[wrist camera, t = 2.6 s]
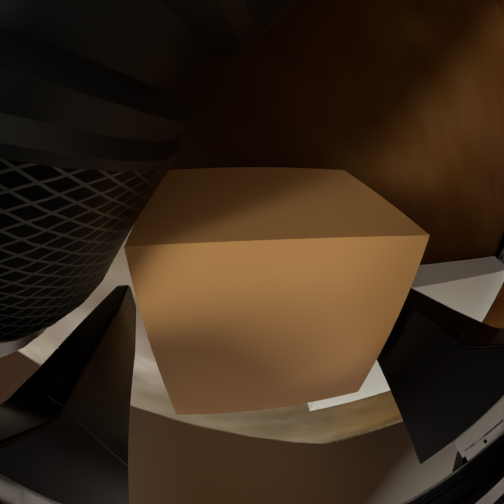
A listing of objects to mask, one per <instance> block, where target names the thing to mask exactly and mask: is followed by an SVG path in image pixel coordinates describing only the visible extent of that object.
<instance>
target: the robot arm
mask: <svg viewBox="0 0 504 504" xmlns="http://www.w3.org/2000/svg"><path fill="white" fill-rule="evenodd" d="M496 258H497V259H498V260H500V261H501V262H504V236H503V239H502V242H501V244H500V247H499V249H498V252H497V254H496ZM135 332H136V306H135V302H134V298H133V295H132V291H131V288H130V286H128V285H123V286H117V287H116V288H115V289H114V290H113V291H112V292H111V293H110V294H109V295H108V296H107V297H106V298H105V299H104V300H103V301H102V302H101V303H100V304H99V305H98V306H97V307H96V308H95V309H94V310H93V311H92V312H91V313H90V314H89V315H88V316H87V317H86V318H85V319H84V320H83V321H82V322H81V323H80V324H79V325H78V326H77V328H76V329H75V330H74V331H73V332H72V333H71V334H70V335H69V336H68V337H67V338H66V339H65V340H64V341H63V343H62V344H61V345H60V346H59V347H58V349H56V350H55V351H54V352H53V354H52V355H51V356H50V357H49V358H48V359H47V360H46V361H45V362H44V363H43V364H42V365H41V366H40V367H39V368H38V369H37V371H35V372H34V373H33V375H31V377H29V378H28V379H27V380H26V381H25V382H24V383H23V384H22V385H21V386H20V387H19V388H18V389H17V390H16V391H15V392H14V393H13V394H12V395H11V396H10V397H9V398H8V399H7V400H6V401H4V402H3V403H1V404H0V504H129V488H128V487H129V486H128V437H129V414H130V400H131V387H132V376H133V367H134V358H135ZM377 361H378V364H379V366H380V368H381V370H382V372H383V375H384V377H385V379H386V381H387V383H388V386H389V388H390V390H391V393H392V395H393V397H394V399H395V402H396V404H397V406H398V409H399V411H400V414H401V416H402V419H403V421H404V423H405V426H406V429H407V431H408V434H409V436H410V439H411V441H412V444H413V446H414V449H415V451H416V454H417V457H418V460H419V462H420V463H421V464H422V463H424V462H426V461H427V460H429V459H431V458H432V457H434V456H436V455H437V454H439V453H440V452H442V451H443V450H445V449H447V448H448V447H449V446H451V445H453V444H454V443H455V445H456V446H457V448H458V450H459V451H458V452H457V455H456V459H455V463H454V468H453V471H452V473H451V474H450V475H448V476H447V477H445V478H444V479H442V480H441V481H439V482H438V483H436V484H435V485H433V486H431V487H430V488H428V489H427V490H425V491H423V492H422V493H420V494H418V495H417V496H415V497H413V498H411V499H410V500H408V501H406V502H404V503H402V504H504V328H494V327H491V326H489V325H486V324H484V323H482V322H480V321H478V320H475V319H473V318H471V317H469V316H467V315H464V314H462V313H460V312H458V311H456V310H454V309H452V308H450V307H448V306H446V305H444V304H442V303H440V302H438V301H437V302H436V300H434V299H432V298H430V297H428V296H426V295H424V294H422V293H420V292H418V291H417V290H415V289H413V288H410V290H409V293H408V295H407V298H406V300H405V302H404V305H403V307H402V309H401V311H400V313H399V316H398V318H397V320H396V322H395V324H394V326H393V328H392V331H391V333H390V335H389V337H388V339H387V341H386V343H385V345H384V347H383V348H382V350H381V352H380V354H379V356H378V358H377Z"/></svg>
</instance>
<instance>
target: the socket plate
mask: <svg viewBox="0 0 504 504" xmlns="http://www.w3.org/2000/svg"><path fill="white" fill-rule="evenodd" d="M503 282H504V264H503V263H502V262H501V261H500V260H498V259H497V258H496V256H492V257H484V258H477V259H469V260H460V261H452V262H443V263H435V264H426V265H419V268H418V270H417V273H416V275H415V278H414V280H413V283H412V285H411V288H413V289H415V290H417V291H418V292H420V293H422V294H424V295H426V296H428V297H430V298H432V299H434V300H436V302H437V301H438V302H440V303H442V304H444V305H446V306H448V307H450V308H452V309H454V310H456V311H458V312H460V313H462V314H464V315H467V316H469V317H471V318H473V319H475V320H478V321H480V322H482V321H483V319H484V317H485V316H486V314H487V312H488V311H489V309H490V307H491V305H492V303H493V302H494V300H495V298H496V296H497V294H498V292H499V290H500V288H501V286H502V284H503ZM389 390H390V388H389V386H388V383H387V381H386V379H385V377H384V375H383V372H382V370H381V368H380V366H379V364H378V361H377V360H376V362H375V363H374V365H373V367H372V369H371V371H370V372H369V374H368V376H367V378H366V379H365V381H364V383H363V384H362V386H361V388H360V389H359V391H358V392H355V393H351V394H347V395H343V396H338V397H334V398H329V399H324V400H319V401H314V402H309V403H308V406H309V409H310V411H312V410H317V409H322V408H326V407H331V406H335V405H339V404H343V403H347V402H351V401H355V400H359V399H362V398H366V397H369V396H373V395H376V394H379V393H383V392H386V391H389Z"/></svg>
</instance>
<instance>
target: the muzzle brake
mask: <svg viewBox="0 0 504 504" xmlns="http://www.w3.org/2000/svg"><path fill="white" fill-rule="evenodd" d="M297 1H298V0H0V358H1V357H3V356H6V355H8V354H10V353H12V352H15V351H17V350H19V349H21V348H23V347H25V346H26V345H27V344H29V343H30V342H31V341H33V340H34V339H35V338H37V337H38V336H39V335H41V334H42V333H43V332H44V331H45V330H46V329H47V327H50V326H52V325H53V324H55V323H56V322H58V321H59V320H60V319H62V318H63V317H65V316H66V315H67V314H69V313H70V312H72V311H73V310H74V309H76V308H77V307H79V306H80V305H81V304H82V303H84V301H85V300H86V299H87V298H88V297H89V296H90V294H91V293H92V292H93V291H94V290H95V289H96V288H97V286H98V285H99V284H100V283H101V282H102V281H103V279H104V277H105V275H106V273H107V271H108V269H109V267H110V265H111V264H112V262H113V260H114V258H115V256H116V254H117V253H118V251H119V249H120V247H121V246H122V244H123V242H124V240H125V239H126V237H127V235H128V233H129V232H130V230H131V228H132V227H133V225H134V223H135V222H136V220H137V218H138V217H139V215H140V213H141V212H142V210H143V209H144V207H145V205H146V204H147V202H148V201H149V199H150V198H151V196H152V195H153V193H154V192H155V190H156V188H157V187H158V185H159V184H160V182H161V181H162V179H163V178H164V177H165V175H166V174H167V172H168V171H169V169H170V168H171V166H172V165H173V164H174V162H175V160H176V159H177V157H178V155H179V154H180V152H181V150H182V148H183V142H182V137H181V131H182V130H183V128H184V127H185V125H186V124H187V123H188V121H189V120H190V118H191V117H190V115H189V112H188V110H187V108H186V106H185V104H184V102H183V100H182V98H181V96H180V92H181V91H182V90H183V88H184V87H185V86H186V84H187V83H188V82H189V81H190V79H191V78H192V77H193V76H194V74H195V73H196V72H197V71H198V70H199V68H200V67H201V66H202V65H203V64H204V62H205V61H206V60H207V59H208V58H209V57H214V56H225V55H232V54H237V53H239V52H242V51H244V50H246V49H248V48H250V47H251V46H252V45H253V44H254V43H255V42H256V41H257V40H258V39H259V38H260V37H261V36H262V35H263V34H264V33H265V32H266V31H267V30H268V29H269V28H270V27H271V26H272V25H273V24H274V23H275V22H276V21H277V20H278V19H279V18H280V17H281V16H282V15H283V14H284V13H285V12H286V11H287V10H288V9H289V8H290V7H291V6H292V5H293V4H295V3H296V2H297Z"/></svg>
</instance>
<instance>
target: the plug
mask: <svg viewBox="0 0 504 504" xmlns="http://www.w3.org/2000/svg"><path fill="white" fill-rule="evenodd" d="M429 236H430V235H429V234H428V233H426V232H425V231H424V230H423V229H422V228H421V227H419V226H418V225H417V224H416V223H415V222H413V221H412V220H411V219H410V218H408V217H407V216H406V215H405V214H403V213H402V212H401V211H400V210H398V209H397V208H396V207H394V206H393V205H392V204H391V203H389V202H388V201H387V200H385V199H384V198H383V197H381V196H380V195H379V194H377V193H376V192H374V191H373V190H372V189H370V188H369V187H368V186H366V185H365V184H363V183H362V182H361V181H359V180H358V179H356V178H355V177H353V176H352V175H350V174H349V173H348V172H346V171H345V170H334V169H315V168H284V167H228V168H197V169H178V170H169V171H168V172H167V174H166V175H165V177H164V178H163V179H162V181H161V182H160V184H159V185H158V187H157V188H156V190H155V192H154V193H153V195H152V196H151V198H150V199H149V201H148V202H147V204H146V205H145V207H144V209H143V210H142V212H141V213H140V215H139V217H138V218H137V220H136V222H135V225H134V227H133V229H132V231H131V233H130V235H129V237H128V239H127V242H126V244H125V246H124V248H125V252H126V257H127V261H128V266H129V270H130V274H131V278H132V282H133V286H134V290H135V294H136V298H137V301H138V305H139V309H140V312H141V316H142V319H143V322H144V326H145V329H146V332H147V335H148V338H149V342H150V345H151V348H152V351H153V354H154V357H155V359H156V362H157V365H158V368H159V371H160V374H161V376H162V379H163V382H164V384H165V387H166V389H167V392H168V395H169V397H170V400H171V402H172V404H173V407H174V409H175V412H176V414H213V413H229V412H242V411H252V410H261V409H270V408H277V407H284V406H291V405H297V404H303V403H309V402H314V401H319V400H324V399H329V398H334V397H338V396H343V395H347V394H351V393H355V392H358V391H359V389H360V388H361V386H362V384H363V383H364V381H365V379H366V378H367V376H368V374H369V372H370V371H371V369H372V367H373V365H374V363H375V362H376V360H377V358H378V356H379V354H380V352H381V350H382V348H383V347H384V345H385V343H386V341H387V339H388V337H389V335H390V333H391V331H392V328H393V326H394V324H395V322H396V320H397V318H398V316H399V313H400V311H401V309H402V307H403V305H404V302H405V300H406V298H407V295H408V293H409V290H410V288H411V285H412V283H413V280H414V278H415V275H416V273H417V270H418V268H419V265H420V262H421V259H422V257H423V254H424V251H425V248H426V245H427V242H428V239H429Z"/></svg>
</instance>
